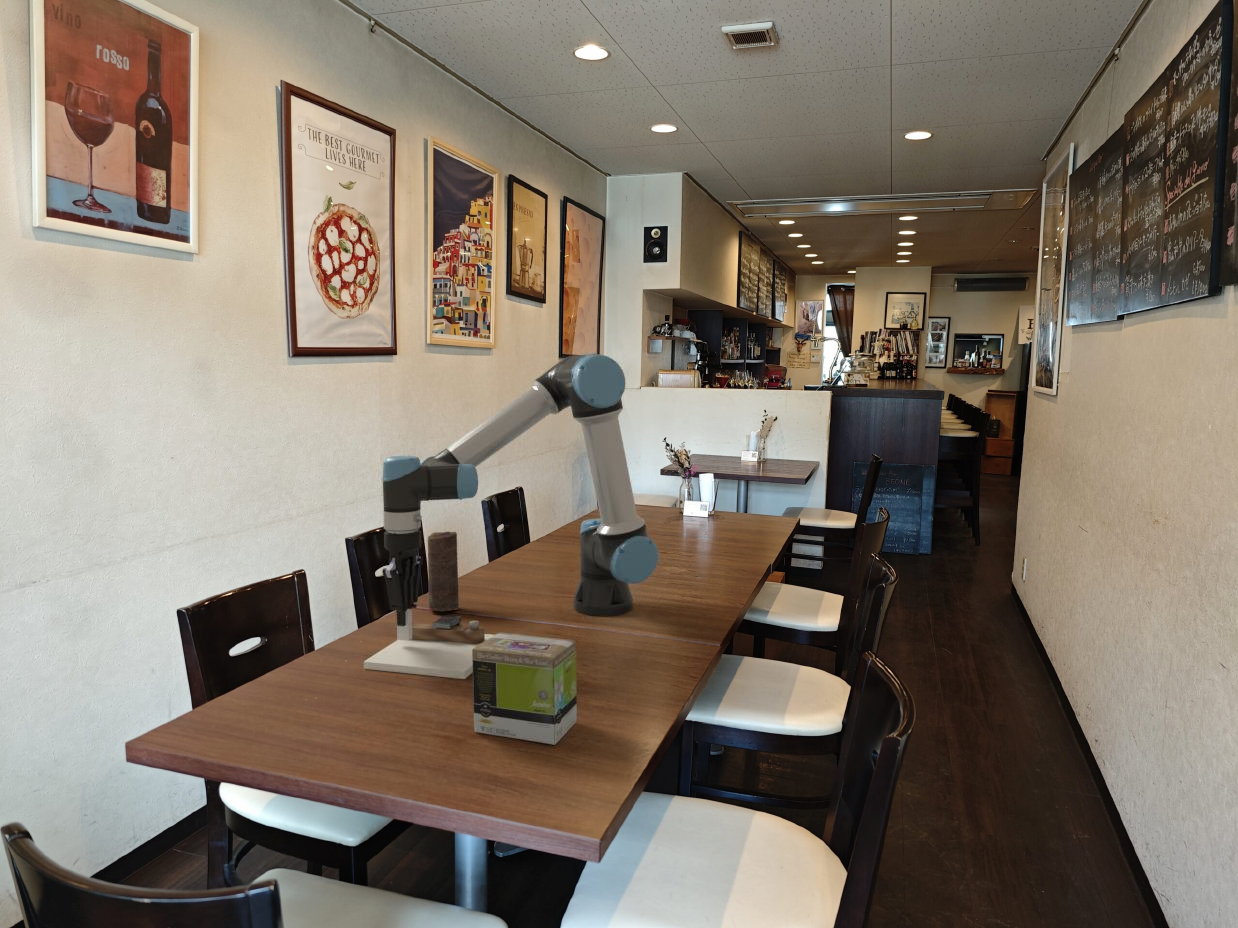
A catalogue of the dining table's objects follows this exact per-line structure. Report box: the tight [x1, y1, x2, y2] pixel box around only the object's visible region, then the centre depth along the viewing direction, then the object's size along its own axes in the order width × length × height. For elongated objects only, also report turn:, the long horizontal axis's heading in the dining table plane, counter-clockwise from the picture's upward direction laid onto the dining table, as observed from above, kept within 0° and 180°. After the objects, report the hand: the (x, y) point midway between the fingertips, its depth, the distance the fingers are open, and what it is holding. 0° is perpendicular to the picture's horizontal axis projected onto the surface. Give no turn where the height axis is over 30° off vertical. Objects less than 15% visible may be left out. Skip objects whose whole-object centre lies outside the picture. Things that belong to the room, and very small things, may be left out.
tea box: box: [472, 631, 578, 746], centre depth 134 cm, size 15×10×15 cm
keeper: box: [432, 614, 462, 629], centre depth 175 cm, size 4×6×4 cm
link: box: [412, 620, 485, 644], centre depth 174 cm, size 17×4×4 cm, turn 81°
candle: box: [427, 531, 460, 613], centre depth 199 cm, size 8×7×20 cm
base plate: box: [363, 633, 495, 680], centre depth 169 cm, size 22×22×2 cm
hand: (404, 638), depth 169 cm, fingers closed
